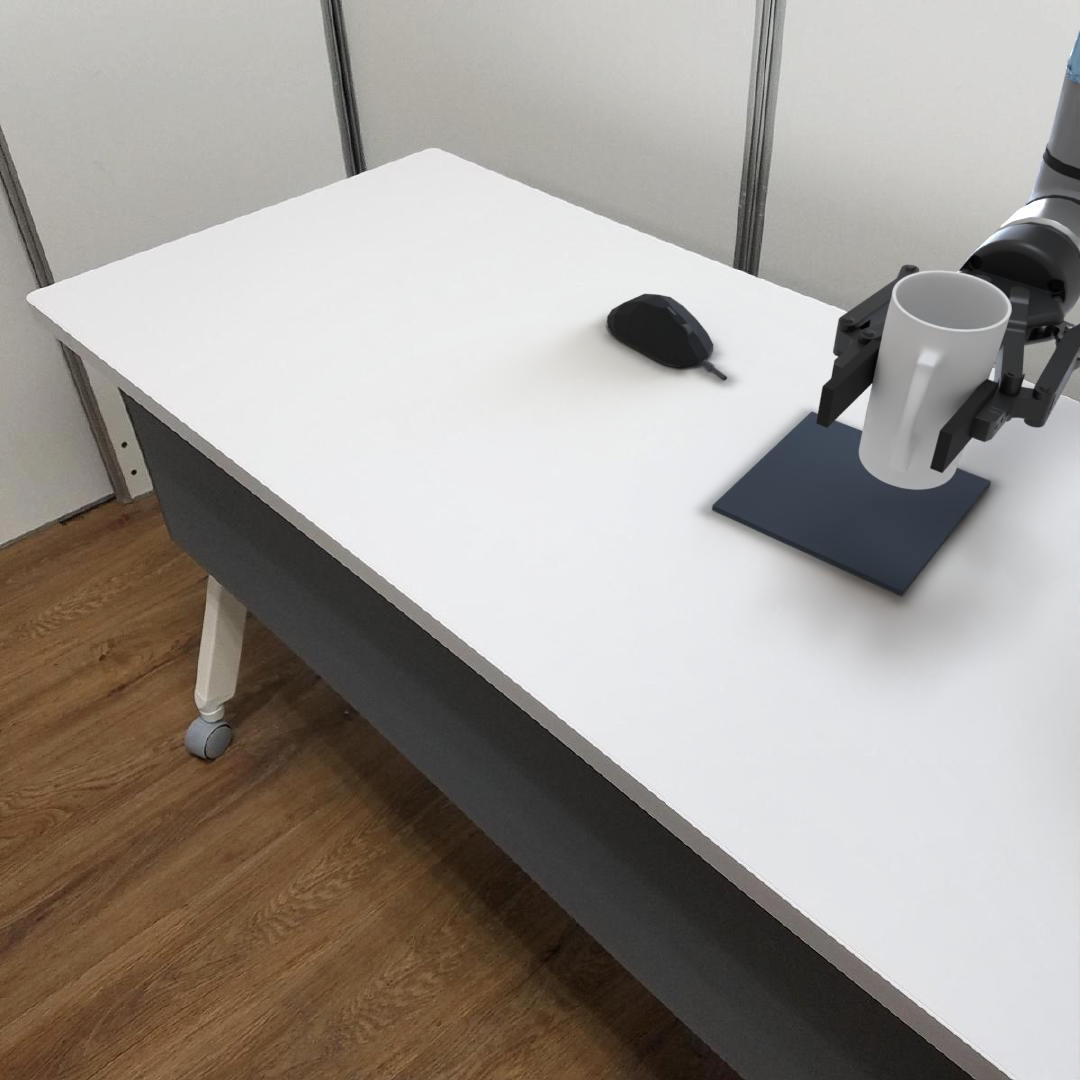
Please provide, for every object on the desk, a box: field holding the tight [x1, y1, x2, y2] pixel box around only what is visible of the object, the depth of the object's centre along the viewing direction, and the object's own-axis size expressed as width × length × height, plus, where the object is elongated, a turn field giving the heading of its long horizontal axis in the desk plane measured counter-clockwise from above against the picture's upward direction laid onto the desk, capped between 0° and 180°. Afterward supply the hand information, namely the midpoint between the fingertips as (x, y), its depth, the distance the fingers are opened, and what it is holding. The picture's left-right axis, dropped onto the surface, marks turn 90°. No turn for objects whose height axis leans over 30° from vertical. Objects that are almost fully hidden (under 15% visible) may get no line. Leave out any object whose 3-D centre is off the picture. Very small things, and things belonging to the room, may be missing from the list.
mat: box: [711, 411, 992, 597], centre depth 90 cm, size 16×16×1 cm
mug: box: [859, 270, 1012, 489], centre depth 69 cm, size 10×7×12 cm, turn 153°
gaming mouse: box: [606, 293, 728, 381], centre depth 106 cm, size 6×15×4 cm, turn 38°
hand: (881, 428), depth 66 cm, fingers closed on mug, 7 cm apart
